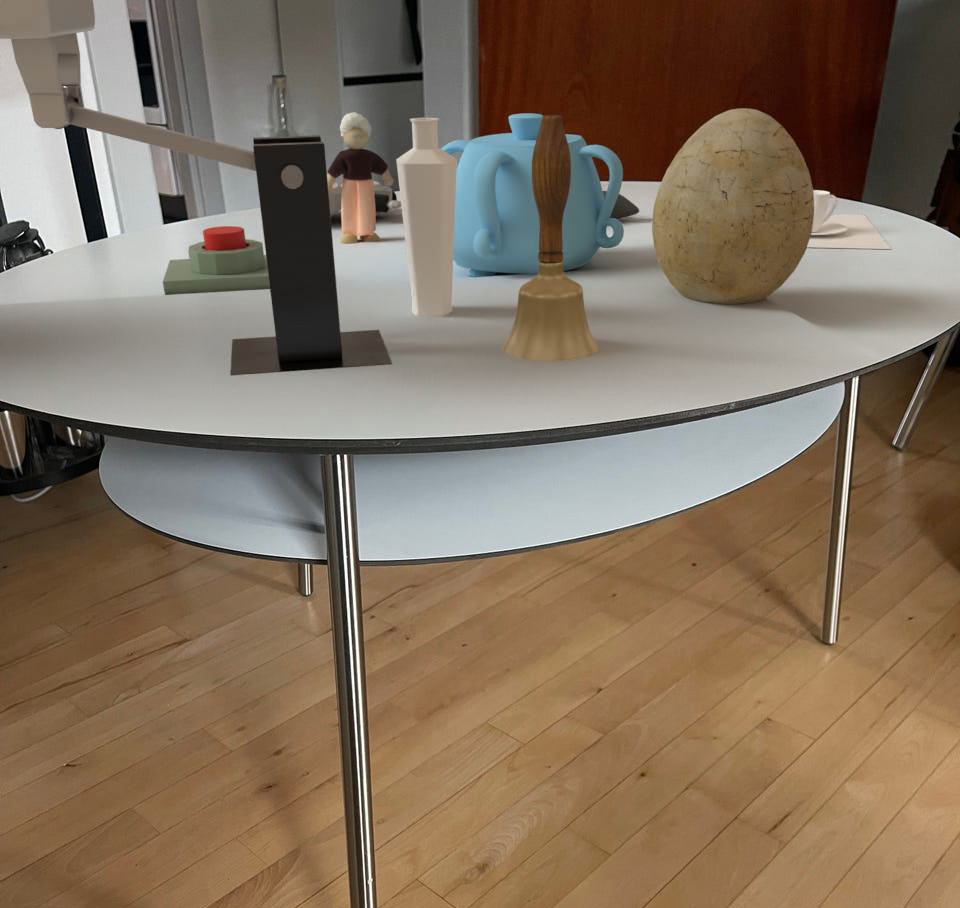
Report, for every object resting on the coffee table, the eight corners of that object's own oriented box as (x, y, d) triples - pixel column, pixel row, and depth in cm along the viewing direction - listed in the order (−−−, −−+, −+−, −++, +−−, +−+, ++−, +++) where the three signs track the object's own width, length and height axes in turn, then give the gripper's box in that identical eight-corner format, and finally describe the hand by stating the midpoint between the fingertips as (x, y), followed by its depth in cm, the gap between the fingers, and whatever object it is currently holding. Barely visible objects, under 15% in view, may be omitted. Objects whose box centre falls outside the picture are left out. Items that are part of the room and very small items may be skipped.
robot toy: (388, 214, 132) (269, 211, 128) (388, 176, 129) (268, 172, 126) (404, 231, 122) (276, 229, 118) (405, 190, 119) (275, 186, 116)
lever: (41, 134, 61) (43, 90, 60) (55, 126, 65) (57, 84, 64) (310, 201, 66) (317, 161, 65) (307, 189, 70) (313, 152, 69)
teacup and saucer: (767, 238, 111) (772, 197, 109) (763, 224, 118) (768, 186, 115) (851, 239, 110) (858, 198, 107) (842, 226, 116) (848, 187, 114)
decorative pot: (632, 284, 94) (644, 119, 87) (462, 295, 91) (459, 125, 84) (578, 249, 108) (584, 104, 101) (428, 258, 105) (423, 109, 98)
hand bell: (483, 378, 71) (480, 122, 63) (502, 344, 78) (502, 109, 69) (603, 383, 70) (616, 122, 61) (611, 348, 77) (624, 109, 68)
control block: (166, 307, 89) (158, 259, 87) (173, 284, 97) (166, 239, 95) (294, 299, 91) (289, 252, 89) (291, 277, 98) (286, 233, 96)
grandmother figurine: (340, 247, 110) (329, 115, 104) (324, 241, 113) (313, 113, 106) (402, 238, 114) (396, 111, 107) (385, 233, 117) (378, 108, 110)
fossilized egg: (666, 284, 94) (681, 100, 86) (809, 295, 89) (838, 102, 81) (629, 319, 84) (641, 114, 76) (788, 333, 79) (819, 117, 72)
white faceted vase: (417, 316, 85) (407, 115, 77) (465, 321, 84) (461, 116, 76) (393, 331, 82) (380, 121, 74) (443, 335, 80) (436, 122, 72)
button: (204, 255, 90) (201, 234, 89) (206, 247, 93) (203, 227, 92) (246, 253, 91) (243, 232, 90) (246, 245, 94) (244, 225, 93)
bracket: (232, 392, 69) (197, 151, 61) (234, 354, 77) (203, 135, 69) (394, 381, 71) (380, 145, 63) (380, 345, 78) (366, 130, 70)
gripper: (-12, -141, 64) (37, 107, 71) (-108, -194, 47) (-31, 140, 54) (94, -138, 65) (131, 107, 72) (37, -189, 48) (94, 139, 55)
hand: (62, 121), depth 63 cm, fingers closed on lever, 5 cm apart
